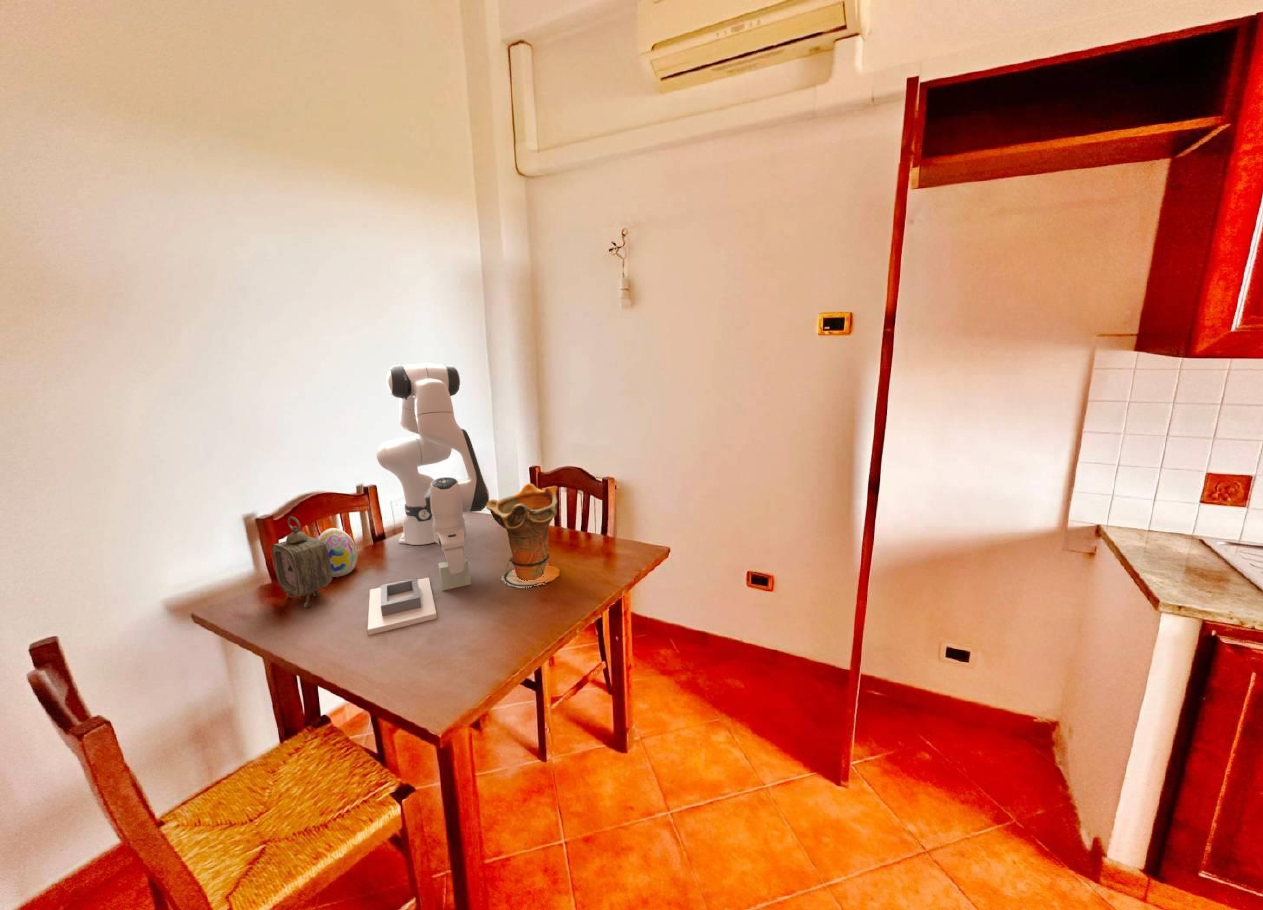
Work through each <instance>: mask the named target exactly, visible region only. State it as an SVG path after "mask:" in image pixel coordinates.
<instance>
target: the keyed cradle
mask: <svg viewBox="0 0 1263 910" xmlns="http://www.w3.org/2000/svg"><path fill="white" fill-rule="evenodd" d="M368 603H369V604H368V618H367V619H368V620H367V634H368V636H370V635H374V634H379V633H383V632H387V631H391V630H392V631H393V630H395V629H400V628H402V627H403V628H404V627H407V626H412V625H416V624H420V623H423V622H424V623H425V622H427V621H432V620H436V619H437V617H438V616H437V611H436V605H435V600H434V597H433V592H432V586H431V582H430V577H423V578H420V579H418V577H413V578H409V579H403V580H399V581H398V580H397V581H393V582H388V583H384V584H381V585H380V587H376V588H371V589H369V601H368Z"/></svg>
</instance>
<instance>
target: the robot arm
mask: <svg viewBox="0 0 1263 910" xmlns="http://www.w3.org/2000/svg"><path fill="white" fill-rule="evenodd" d="M385 379H386V386H387V389H388V390H389V394H391V396H393V397H394V398H398V399H399V419H398V421H399V423H400V425H401V427H402V428H403V429H404V430H406V431H408V432H410V433H413V434H414V436H409V437H401V438H394V439H391V440H388V441H384V442H382V443H380V444H379V446H378V448H377V450H376V460H377V463H378V464H379V465H380V466H381V467H382V468H383V469H385V470H386V471H388V472H390V473H392V474H393V475H395V476H396V478H397V479H398V480H399V482H400V483H401V485H402V489H403V494H404V500H405V503H404V511H405V512H404V513H405V515H406V516H405V517H404V518H403V520H402V521H401V526H402V534H401V536H400V538H399V539H398V543H399V544H408V545H412V546H413V545H415V546H420V545H428V544H432V543H437V544H438V546H439V547H440V548H441V550H442V551H443V554H444V557H445V560H446V561H445V562H447V564H448V567H449V571H450V574H451V575H452V578H453V581H459V574H461V573H463V572H464V558H465V549H464V548H465V546H466V538H467V530H466V521H465V518H464V516H463V513H467V512H469V513H472V512H482V511H483V509H485V508H486V504H487V502H488V501H490V492H489V489H488V486H487V484H486V483H485V480H484V478H483V475H482V472H481V468H480V465H479V462H478V458H477V456H476V452H475V449H474V446H473V443H472V440H471V438H470V436H469V434H468V432H467V430H466V429H464V428H461V426H459V424H458V423H457V421H456V419H455V413H454V406H453V401H452V398H451V397H453V396H455V395H456V394H457V393H458V392H459V390H460V385H461V378H460V373H459V371H458V369H456V367H455V366H454V365H449V364H443V365H442V364H435V363H417V364H405V365H403V364H396V365H393V366H391V367H390V368H389V369H388V371H387V374H386V378H385ZM452 450H455V451H456V452H458V453H459V454H460V456H461V457H462V461H463V464H464V467H465V470H466V473H467V479H466V480H462V481H458V480H457V479H456V478H455V477H450V476H449V477H448V476H446V477H438V478H436V479H434V478H433V477H432V476H429V475H426V474H423V473H420V472H419V468H418V467H421V466H428V465H434V464H438V463H440V462H443V461H446V460H448V459H449V458H450V456H451V454H452Z"/></svg>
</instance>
